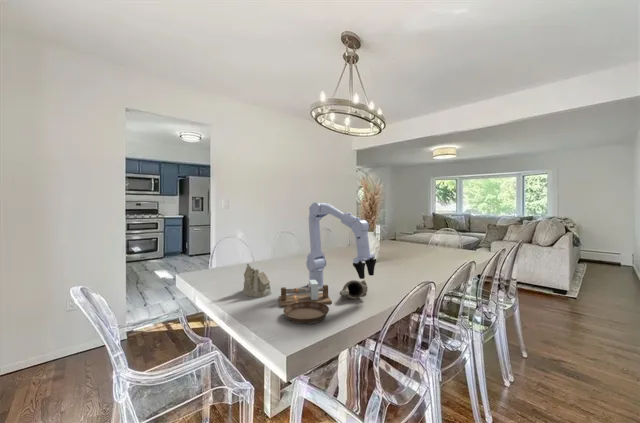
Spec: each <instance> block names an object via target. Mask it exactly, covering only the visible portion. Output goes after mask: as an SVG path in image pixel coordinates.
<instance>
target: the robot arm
mask: <svg viewBox="0 0 640 423" xmlns="http://www.w3.org/2000/svg"><path fill="white" fill-rule="evenodd" d="M308 211H309V215H308V230H309V248H310V252H309V253H308V254H307V256H306V262H305V264H306V268H307V270H308V272H309V273H308V281H309V280H316V281H317V283H318V287H323V285H324V270H325V268H326V266H327V259H326V255H325V252H323V251H322V241H321V226H320V221H321V220H322V219H323V218H324V217H325V216H327V215H331V216H332V217H335V218H338V219H339V220H340V222H341V224H342V225H345V226H347V227H348V228H350V229H351V231H352V232H353V234H354V238H355V243H356V245H355V246H356V253H357V257H355V258H353V259H352V260H353V262H352V266H353V267H354V269H355V270H356V272H357V275H358V278H359V279H360V280H362V279H363V280H365V278H366V276H365V274H366V273H365V267H366V268H367V273H368V275H369V276H374V275H375V267H376V263H377V262H378V261H377V260H378V259H377V258H375V256H376V255H375V254H374V253H371V249H370V247H371V246H370V240H369V233H368V231H369V229H370V223H369V222H368V220H366V219H360V217H359V216H355V215H353V213H352V212H345V213H344V212H343V211H341V210H339V209H338V208H336V207H335V206H333V205H332V204H331V203H329V202H312V203H311V205H310V206H309V207H308ZM307 286H308V287H307V288H309V283H307Z"/></svg>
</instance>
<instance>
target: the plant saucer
mask: <svg viewBox="0 0 640 423" xmlns="http://www.w3.org/2000/svg"><path fill="white" fill-rule="evenodd" d="M329 311H330V308H329V306H328V304H323V303H320V302H313V301H303V302H296V303H293V304H290V305H288V306H286V307H283V311H282V312H283V314H284V316H285V317H286V318H287V319H288V321H290V322H293V323H296V324H302V325H303V324H306V325H307V324H315V323H318V322H321V321H323V319H324V318H326V316H327V315H328V314H329Z"/></svg>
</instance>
